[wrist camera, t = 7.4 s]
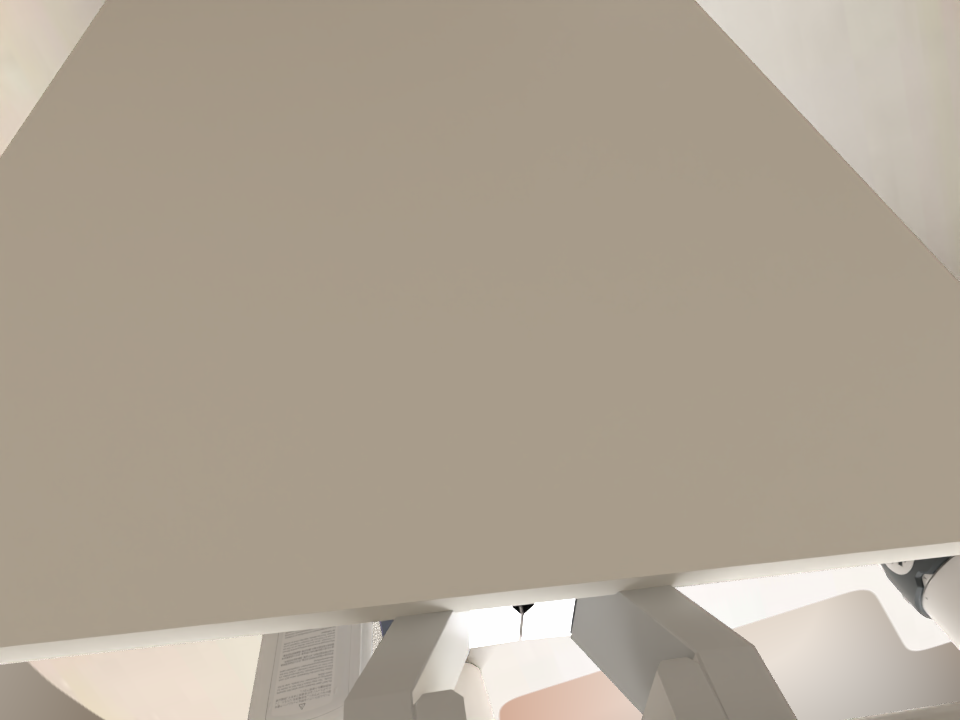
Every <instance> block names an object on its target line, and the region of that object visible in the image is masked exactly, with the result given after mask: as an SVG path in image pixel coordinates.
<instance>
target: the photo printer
mask: <svg viewBox="0 0 960 720" xmlns="http://www.w3.org/2000/svg"><path fill="white" fill-rule="evenodd" d="M372 655H373V622H368V623H359V624H350V625H342V626H333V627H324V628H315V629H307V630H298V631H289V632H280V633H272V634H263V635H262V641H261V647H260V652H259V658H258V664H257V669H256V675H255V681H254V686H253V692H252V697H251V703H250V709H249V714H248V720H343V714H344V701H345V699H346V697H347V696H348V694H349V692H350V691H351V689H352V687H353V686H354V684H355V683H356V681H357V679H358V678H359V676H360V674H361V673H362V671H363V670H364V668H365V666H366V665H367V663H368V661H369V660H370V658H371V657H372Z"/></svg>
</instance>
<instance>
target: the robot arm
mask: <svg viewBox="0 0 960 720" xmlns="http://www.w3.org/2000/svg"><path fill="white" fill-rule="evenodd" d="M876 565H877V566H879V567H880V568H881V569H882V570H883V571H884V572H885V573H886V575H887V577H888V578H889V580H890V581H891V582H892V583H893V584H894V585H895V587H896V588H897V589H898V590H899V591H900V592H901V593H902V595H903V597H904V598H905V600H906V601H907V602H908V603H909V604H911V605H912V606H914V608H915V609H916V610H917V611H918V612H919V613H920V614H921V615H923V616H925V617H926V618H929V619H933V621H934V622H935V623H936V624H937V625H938V626H939V627H940V629H941V630H942V631H943V632H944V633H945V634H946V635H947V637H948V638H949V639H950V640H951V641H952V642H953V643H954V645H955V646H956V647H957V648H958V649H959V650H960V555H955V556H947V557H938V558H929V559H920V560H911V561H903V562H894V563H885V564H876ZM519 630H520V634H521V639H522V640H527V639H537V638H547V637H557V636H567V635H571V639H572V640H573V641H574V642H575V643H576V644H577V645H578V646H579V647H580V648H581V649H582V650H583V651H584V652H585V653H586V655H587V656H588V657H589V658H590V659H591V660H592V661H593V662H594V663H595V664H596V665H597V666H598V667H599V668H600V670H601V671H602V672H603V673H604V674H605V675H606V676H607V677H608V678H609V679H610V680H611V681H612V682H613V683H614V684H615V685H616V686H617V687H618V689H619V690H620V691H621V692H622V693H623V694H624V695H625V696H626V697H627V698H628V699H629V701H631V702H632V704H633V705H634V706H635V707H636V708H637V709H638V710H639V711H640V712H641V713H642V714H643V716H642V720H797V719H796V716H795V715H794V713H793V711H792V709H791V708H790V706H789V704H788V703H787V701H786V699H785V697H784V696H783V694H782V692H781V691H780V689H779V687H778V685H777V684H776V682H775V680H774V679H773V677H772V675H771V673H770V672H769V670H768V668H767V667H766V665H765V663H764V662H763V660H762V658H761V656H760V655H759V653H758V651H757V649H756V648H755V646H754V645H753V644H751V643H750V642H748V641H747V640H746V639H744V638H743V637H742V636H740V635H739V634H737V633H736V632H734V631H733V630H732V629H731V628H729V627H728V626H726V625H725V624H724V623H722V622H721V621H719V620H718V619H717V618H715V617H714V616H713V615H711V614H710V613H708V612H707V611H706V610H704V609H703V608H702V607H700V606H699V605H697V604H696V603H695V602H693V601H692V600H691V599H689V598H688V597H686V596H685V595H684V594H682V593H681V592H680V591H678V590H677V589H675V588H674V587H673V586H671V585H668V586H659V587H650V588H642V589H634V590H625V591H619V592H617V593H616V594H613V595H605V596H596V597H587V598H578V599H570V600H561V601H552V602H543V603H535V604H526V605H517V606H508V607H500V608H491V609H482V610H473V611H464V612H456V613H454V611H453V610H451V611H443V612H434V613H425V614H416V615H408V616H400V617H395V619H394V621H393V622H392V624H391V626H390V627H389V629H388V630H387V632H386V634H385V635H384V637H383V639H382V640H381V642H380V643H379V645H378V647H377V648H376V650H375V652H374V653H373V655H372V657H371V658H370V660H369V661H368V663H367V665H366V666H365V668H364V670H363V671H362V673H361V674H360V676H359V678H358V679H357V681H356V683H355V684H354V686H353V687H352V689H351V691H350V692H349V694H348V696H347V697H346V699H345V701H344V714H343V720H467V719H466V712H465V705H464V698H463V696H461V695H460V694H458V693H457V692H455V691H454V688H455V686H456V683H457V681H458V678H459V676H460V674H461V671H462V669H463V666H464V664H465V661H466V659H467V657H468V654H469V652H470V648H474V647H480V646H486V645H492V644H499V643H505V642H511V641H518V638H519ZM846 720H960V701H958V702H951V703H945V704H939V705H933V706H927V707H921V708H914V709H909V710H902V711H896V712H890V713H884V714H877V715H871V716H865V717H859V718H852V719H846Z"/></svg>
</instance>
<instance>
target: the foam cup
mask: <svg viewBox="0 0 960 720" xmlns="http://www.w3.org/2000/svg"><path fill="white" fill-rule="evenodd" d="M454 691H455V692H457V693H458V694H460V695H461V696H463V698H464V705H465V712H466V719H467V720H495V717H494V714H493V710H492V707H491V703H490V700H489V697H488V693H487V690H486V687H485V683H484V680H483V678H482V674H481V672H480V669H479V668H478V667H476V666H475V665H473V664H471V663H465V664H464V666H463V669H462V671H461V674H460V676H459V678H458V681H457V683H456V686H455V688H454Z"/></svg>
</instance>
